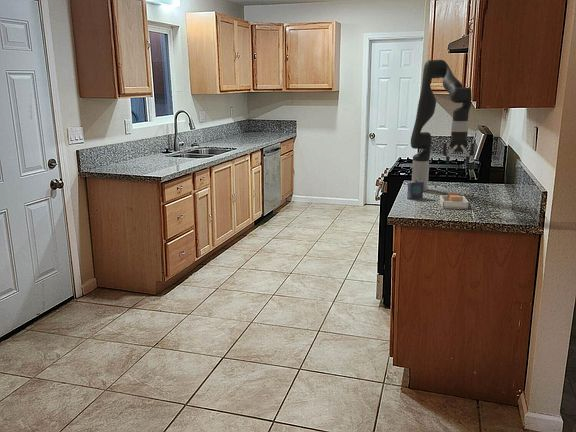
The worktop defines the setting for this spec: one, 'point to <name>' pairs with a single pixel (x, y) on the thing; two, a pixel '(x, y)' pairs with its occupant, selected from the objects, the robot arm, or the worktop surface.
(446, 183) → the worktop surface
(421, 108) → the robot arm
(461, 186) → the worktop surface
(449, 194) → the walnut block
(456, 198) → the terracotta block
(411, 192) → the flask
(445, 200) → the tray
